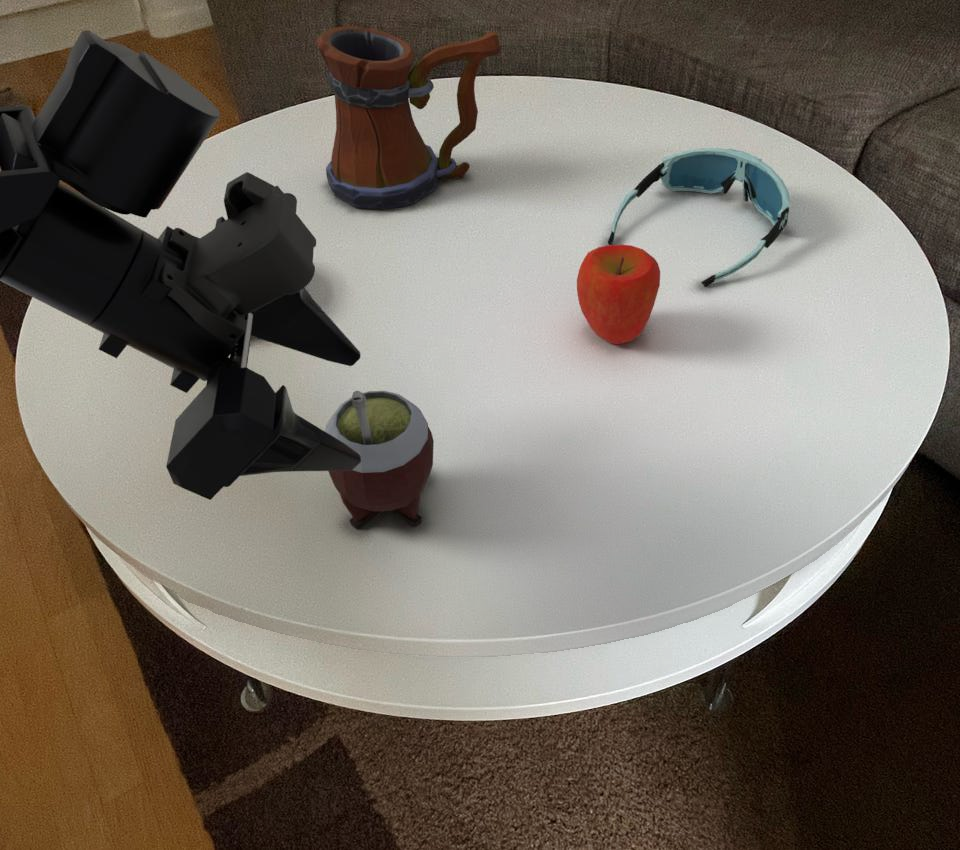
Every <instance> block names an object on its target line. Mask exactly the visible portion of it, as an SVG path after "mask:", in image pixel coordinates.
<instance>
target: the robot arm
mask: <svg viewBox="0 0 960 850" xmlns="http://www.w3.org/2000/svg"><path fill="white" fill-rule="evenodd" d="M69 51H70V52H69V54H68V56H67V57H68V58H67V61H66V65H65V68H64V70H63V72H62V73H61V76H59V79H58V80H57V82H56V84H55V86H54V88H53V89H52V91H51V92H50V93H49V96H48V98H47V99H46V101H45V103H44V104H43V106H42V108H41V109H40V111H39V113H38V115H37V116H35V113H34V112H33V109H32V108H31V107H30V106H28V105H13V106H0V282H2V283H3V284H5V285H8V286H10V287H12V288H14V289H15V290H17V291H19V292H21V293H23V294H25V295H27V296H29V297H32V298H34V299H36V300H37V301H39V302H41V303H43V304H45V305H47V306H50V307H52V308H53V309H55V310H58V311H59V312H61V313H63V314H65V315H67V316H69V317H71V318H73V319H75V320H77V321H79V322H81V323H83V324H85V325H87V326H89V327H91V328H93V329H95V330H97V331H99V332H101V333H102V337H101V340H100V344H99V346H98V350H99V351H101V352H103V353H105V354H106V355H109V356H111V357H113V358H115V359H118V357H119V356H120V355H121V353H122V352H123V351H124V350H125V349H126V347H127V346H128V347H130V348H132V349H134V350H136V351H138V352H140V353H142V354H143V355H145V356H148V357H150V358H152V359H154V360H156V361H158V362H160V363H161V364H164V365H166V366H168V367H170V368H171V369H173V371H172V376H171V379H170V386H172V387H173V388H175V389H177V390H180V391H181V392H183V393H185V394H188V393H189V391H190V390H191V389H193V387H194V386H195V384H196V383H197V382H198V381H199V380H201V381H203V382H206V384H205V386H204V387H203V389H202V390H201V391H200V392H199V393H198V394H197V395H196V397H194V398H193V400H192V401H191V402H190V403H189V404H188V406H187V407H185V409H184V410H183V411H182V412H181V413H180V414H179V415H178V417H177V418H176V419H175V421H174V426H173V432H172V436H171V440H170V446H169V452H168V455H167V462H166V465H165V467H166V469H167V472H168V474H169V476H170V479H171V481H172V484H174V485H175V486H177V487H179V488H182V489H184V490H186V491H188V492H191V493H193V494H195V495H198V496H199V497H202V498H204V499H207V500H209V501H211V500H212V499H213V498H214V497H215V496H216V495H217V494H218V493H219V492H220V491H221V490H222V489H223V488H229V487H230V486H232V485H233V484H234V483H235V482H236V481H237V479H239V477H244V476H250V475H251V476H253V475H261V474H269V473H270V474H271V473H282V472H283V473H286V472H289V473H290V472H328V471H350V470H353V469H354V468H355V467H356V466H357V465H358V464H359V463H360V462H361V456H360V455H359V454H358V453H357V452H355V451H354V450H353V449H351V448H350V447H349V446H347V445H346V444H344V443H343V442H341V441H340V440H338V439H336V438H335V437H333V436H331V435H330V434H328V433H326V432H325V430H323V429H322V428H320V427H319V426H317V425H315V424H313V423H311V422H310V421H308V420H307V419H305V418H303V417H302V416H300V415H298V414H297V413H296V412H295V411H294V409H293V406H292V403H291V399H290V397H289V393H288V390H287V387H286V386H285V385H284V384H282V386H281V387H279V389H277V390H276V391H275V390H274V389H273V388H272V386H271V384H270V382H269V381H268V380H267V379H266V377H265V376H263V375H262V374H260V373H258V372H256V371H254V370H252V369H250V368H249V367H248V363H249V354H250V348H251V340H252V337H253V338H256V339H258V340H262V341H266V342H268V343H271V344H275V345H278V346H281V347H283V348H287V349H290V350H293V351H296V352H300V353H302V354H306V355H309V356H312V357H315V358H318V359H322V360H324V361H327V362H331V363H336V364H339V365H344V366H348V367H352V366H354V365H355V364H356V363H357V362H358V361H360V359H361V351H360V350H359V349H358V348H357V347H356V346H355V344H353V342H352V341H351V340H350V339H349V338H348V336H347V335H346V334H345V333H344V332H343V331H342V329H340V328H339V326H337V324H336V323H335V322H334V321H333V320H332V319H331V317H329V316H328V315H327V313H326V312H325V311H324V310H323V309H322V307H321V306H320V305H319V304H318V302H317V301H316V300H315V299H314V298H313V297H312V296H311V294H310V293H309V292H308V291H307V289H306V287H307V286H308V285H309V284H310V283H311V282H312V280H313V278H314V276H315V271H316V267H315V264H314V249H315V247H317V239H316V237H315V236H314V234H313V233H312V231H310V230H309V228H308V227H307V226H306V224H305V223H304V222H303V220H302V219H301V218H300V217H299V215H298V214H297V206H298V198H297V197H296V195H294V194H293V193H290V192H284V191H282V189H281V188H280V187H279V185H273V184H271V183H270V182H267V181H266V180H264V179H262V178H260V177H258V176H256V175H254V174H253V173H251V172H244V173H243V174H240V175H239V176H237V177H235V178H233V179H232V180H230V181H229V182H227V184H226V187H225V192H224V197H223V205H224V209H225V213H226V217H227V219H225V217H224V216H220V217H218V218H216V220H215V226H214V228H213V229H212V230H211V231H209V232H207V233H205V235H202V236H201V237H198V236H195V235H192V234H191V233H189V232H187V231H186V230H184V229H182V228H180V227H175V228H174V229H173V228H172V227H170V226H168V225H167V226H166V227H165V228H164V230H163V231H162V232H161V234H160V235H159V237H156V236H154V235H152V234H150V233H148V232H147V231H145V230H143V229H141V228H139V227H138V226H136V225H134V224H133V223H131V222H130V221H128V220H126V219H124V218H123V217H120V216H119V215H117V214H120V215H133V216H136V217H140V218H147V217H148V216H149V214H150V213H151V211H152V210H153V211H154V210H159V209H160V208H162V206H163V205H164V203H165V201H166V200H167V198H168V197H169V196H170V194H171V192H172V191H173V189H174V187H175V186H176V185H177V183H178V181H179V180H180V179H181V177H182V176H183V174H184V172H185V171H186V170H187V168H188V166H189V164H190V163H191V162H192V160H193V159H194V157H195V156H196V154H197V152H198V151H199V149H200V148H201V146H202V145H203V143H204V142H205V140H206V139H207V137H208V136H209V134H210V133H211V131H212V130H213V128H214V127H215V125H216V123H217V122H218V120H219V119H220V117H221V113H220V111H219V109H218V108H217V107H216V106H215V105H214V104H213V102H211V101H210V99H208V98H207V97H206V95H204V94H203V93H202V92H200V90H198V88H196V87H195V86H194V85H193V84H191V83H190V82H189V81H188V80H186V79H185V78H183V77H182V76H181V75H180V74H178V73H177V72H175V70H172V69H171V68H170V67H168V66H167V65H166V64H164V63H162V62H161V61H159V60H158V59H156V58H155V57H153V56H152V55H150V54H148V53H147V52H145V51H143V50H142V51H141V52H139V53H138V52H137V51H135V50H134V49H131V48H129V47H128V46H125V45H123V44H121V43H118V42H115V41H107V40H105V39H104V38H102V37H101V36H99V35H97V34H96V33H94V32H93V31H91V30H89V29H85V30H82V31H81V32H80V33H79V35H78V37H77V39H76V40H75V42H74V44H73V45H72V47H71V49H70V50H69ZM60 181H61V182H60ZM64 183H65V184H64ZM69 186H70V187H69ZM115 213H116V214H115Z"/></svg>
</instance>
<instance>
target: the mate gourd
mask: <svg viewBox="0 0 960 850" xmlns="http://www.w3.org/2000/svg"><path fill="white" fill-rule="evenodd" d="M324 429H325V430H324V431H325V432H326V433H328V434H330V435H331V436H333V437H335V438H336V439H338V440H340V441H341V442H343V443H344V444H346V445H347V446H349V447H350V448H351V449H353V450H354V451H355V452H357V453H358V454H359V455H360V456H361V462H360V463H359V464H358V465H357V466H356V467H355V468H354V469H353V470H350V471H327V472H328V474H329V477H330V479H331V481H332V484H333V487H335V489H336V490H337V492H338V493H339V496H340V499H341V501H342V504H343V506H344V507H345V509H346V510H347V512H348V513H349V514H350V515H351V516H352V517H351V518H350V519H349V523H350V526H351V527H352V528H354V529H355V530H359V529H361V528H363V527H364V526H365V525H367V524H368V523H370V522H371V521H372V520H373V519H375V518H376V517H377V516H379V515H380V514H381V513H383V512H392V513H393V514H394V515H397V516H398V518H400V519H402V520H403V521H404V522H405V523H406V524H408V525H409V526H411V527H412V528H417V527H418V526H419V525H420V524H422V522H423V517H422V516H421V515H420V514H419V513H418V509H419V504H420V498H421V497H420V496H421V493H422V491H423V489H424V487H425V485H426V483H427V481H428V479H429V478H430V475H431V472H432V469H433V466H434V445H435V444H434V443H435V442H434V436H433V433H432V430H431V428H430V427H429V423H428V421H427V419H426V417H425V415H424V414H423V412H422V409H420V407H418V406H417V405H416V404H414V403H413V402H411V400H409V399H407V398H406V397H404V396H403V395H401V394H400V393H397V392H392V391H387V390H369V391H364V392H361V390H355V391H353V392H352V396H351V397H350V398H348V399H347V400H345V401H344V402H342V403H340V405H338V407H337V409H335V411H334V413H333V414H332V416H330V418H329V419H328V422H327V423H326V425H325V428H324Z"/></svg>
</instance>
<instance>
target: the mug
mask: <svg viewBox="0 0 960 850" xmlns="http://www.w3.org/2000/svg"><path fill="white" fill-rule="evenodd" d="M315 42H316V45H317V48H318V51H319V52H320V54H321V56H322V58H323V60H324V61H325V64H326V66H327V68H328V70H327V75H326V79H327V82H328V84H329V86H330V88H331V90H332V91H333V93H334V103H335V121H336V122H335V123H336V124H335V126H336V127H335V134H334V141H333V147H332V152H331V159H330V161H329V163H328V164H327V166H326V167H325V174H326V179H327V182H328V184H329V187H330V188H331V191H332V193H333V195H334V197H335V198H337V199H339V200H341V201H342V202H345V203H346V204H349V206H352V207H353V208H356V209H373V210H387V209H394V208H398V207H399V208H400V207H405V206H410V205H411V206H412V205H413V204H415V203H416V202H418V201H420V200H421V199H423V198H424V197H425V196H427V195H429V194H431V193H432V192H434V191H435V189H436V186H437V184H438V181H439V179H441V178H443V179H450V180H451V179H460V178H464V177H465V175H466V174H467V172H468V171H469V169H470V166H471V165H470V163H469V162H467V161H463V162H461V163H460V164H457V162H456V160H455V158H453V157H452V152H453V149H455V147H456V146H458V145H460V144H461V143H462V142H463V141H464V140H466V139H467V138H468V137H469V136H470V135H471V134H472V133H473V132H474V131H475V130H476V127H477V121H478V116H479V115H478V114H479V109H478V105H477V100H476V93H475V81H476V78H477V75H478V71H479V70H480V66H481V63H482V61H483V60H484V59H486V58H488V57H494V56H496V55H499V54H500V53H501V51H502V48H501V44H500V39H499V36H498V33H497V31H494V30H492V31H490V32H488V33H486V34H485V35H483V36H481V37H478V38H474V39H471V40H467V41H463V42H454V43H449V44H444V45H441V46H438V47H436V48H435V49H433V50H431V51H428V52H427V53H426V54H424V55H423V56H422V57H420V58H419V60H418V61H417V62H416V63H415V64H414V61H415V59H416V54H415V52H414V48H413V47H412V46H411V45H410V44H409V43H408V42H406V41H404V40H402V39H400V38H399V37H396V36H394V35H393V34H390V33H387V32H384V31H381V30H378V29H375V28H367V27H364V26H356V25H355V26H353V25H344V26H338V27H332V28H330V29H328V30H326V31H324V32H323V33H322V34H321V35H319V37H317V38H316V39H315ZM457 61H465V66H464V67H463V70H462V72H461V74H460V78H459V80H458V84H457V91H456V103H457V105H456V106H457V111H458V116H459V117H458V118H459V123H458V125H456V126H455V127H454V128H453V129H452V130H451V131H450V132H449V133H448V134H447V136H446V137H445V138H444V140H443V142H442V144H441V146H440V148H439V152H438V156H437V155H436V153H435V152H434V150H433V148H432V147H431V145H428V144H426V143H425V141H424V139H423V137H422V135H421V133H420V132H419V130H418V128H417V126H416V123H415V121H414V119H413V114H412V111H411V109H412V108H411V106H410V105H412V106H413V107H415V108H416V109H418V110H424V108H425V107H426V106H427V105H428V103H429V101H430V98H431V93H432V91H433V89H434V83H433V81H432V80H431V78H430V77H429V75H430V73H431V71H432V70H433V69H434V68H437V67H439V66H441V65H444V64H448V63H453V62H457ZM413 65H414V66H413ZM412 66H413V67H412Z"/></svg>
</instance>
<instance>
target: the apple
mask: <svg viewBox="0 0 960 850" xmlns="http://www.w3.org/2000/svg"><path fill="white" fill-rule="evenodd" d="M582 260H583V261H582V262H581V264H580V266H579V269H578V274H577V277H576V292H577V293H576V294H577V299H578V304H579V307H580V310H581V313H582V315H583V316H584V318H585V320H586V322H587V323H588V325H589V327H590V328H591V329H592V331H593V332H594V334H595V335H596V336H598V337H599V338H600V339H602V340H604V341H606V342H608V343H611V344H616V345H620V344H626V343H629V342H632V341H633V340H635V339H637V338H638V337H639V336H640V335H642V332H643V331H644V329H645V327H646V325H647V324H648V321H650V318H651V314H652V312H653V310H654V309H653V308H654V306H655V304H656V299H657V296H658V293H659V289H660V286H661V268H660V266H659V263H658V261H657V260H656V258H655V257H654V256H652V255H651V254H650V253H648V252H647V251H646V250H644V249H643V248H641V247H637V246H634V245H630V244H612V245H609V244H608V245H602V246H598V247H596V248H594V249H592V250H590V251H588V252H587V253H586V255H585V256H584V258H583V259H582Z"/></svg>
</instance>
